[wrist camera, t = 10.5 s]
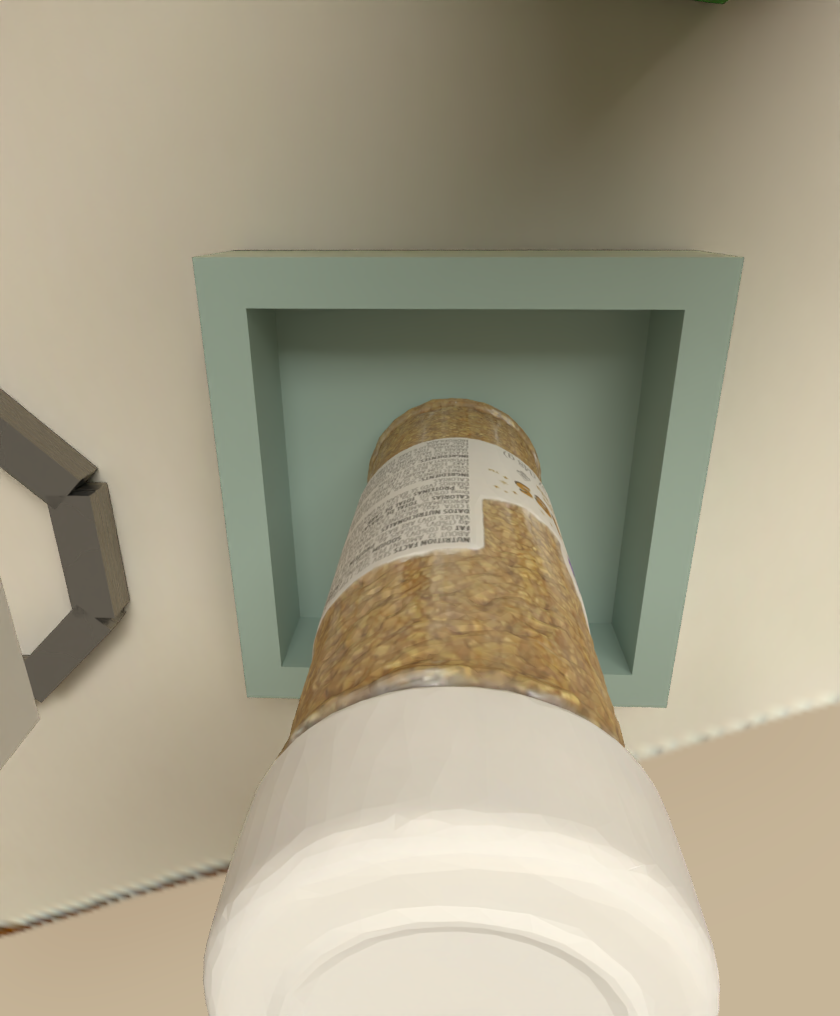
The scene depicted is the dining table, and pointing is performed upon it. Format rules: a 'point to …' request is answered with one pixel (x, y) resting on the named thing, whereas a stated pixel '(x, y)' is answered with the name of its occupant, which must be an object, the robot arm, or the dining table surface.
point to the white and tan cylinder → (457, 775)
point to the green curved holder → (714, 1)
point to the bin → (479, 377)
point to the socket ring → (67, 541)
